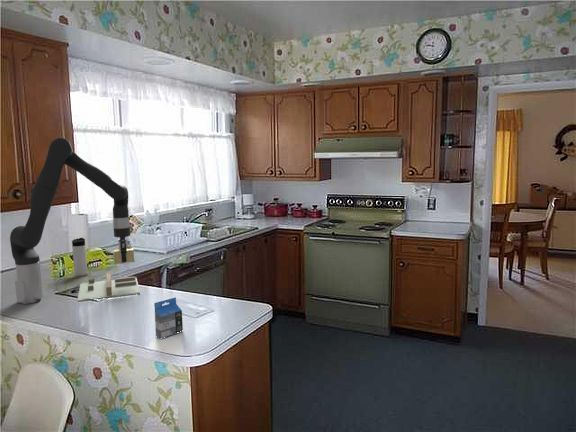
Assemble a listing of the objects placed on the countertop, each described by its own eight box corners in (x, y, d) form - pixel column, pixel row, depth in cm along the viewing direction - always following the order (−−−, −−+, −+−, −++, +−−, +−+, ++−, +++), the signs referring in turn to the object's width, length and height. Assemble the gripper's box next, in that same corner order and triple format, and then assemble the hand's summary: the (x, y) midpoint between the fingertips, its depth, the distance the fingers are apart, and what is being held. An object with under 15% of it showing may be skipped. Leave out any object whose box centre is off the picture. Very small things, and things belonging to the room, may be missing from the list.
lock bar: (114, 263, 212) (113, 251, 211) (114, 262, 215) (113, 250, 214) (134, 261, 215) (133, 249, 214) (133, 260, 218) (133, 248, 217)
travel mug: (90, 274, 236) (87, 237, 233) (83, 277, 229) (80, 240, 226) (79, 274, 237) (76, 237, 234) (72, 277, 230) (69, 240, 227)
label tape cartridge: (161, 339, 153) (159, 305, 151) (155, 336, 155) (153, 303, 154) (183, 332, 159) (181, 299, 157) (177, 329, 162) (175, 297, 160)
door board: (140, 294, 202) (139, 283, 201) (77, 302, 192) (76, 291, 191) (136, 279, 226) (135, 269, 225) (80, 285, 216) (79, 275, 215)
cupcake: (117, 258, 271) (116, 242, 269) (134, 257, 274) (133, 241, 272) (116, 262, 262) (115, 245, 260) (133, 260, 265) (132, 244, 263)
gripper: (130, 228, 207) (133, 263, 210) (129, 223, 220) (131, 257, 223) (113, 229, 204) (116, 265, 207) (113, 224, 217) (115, 258, 220)
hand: (124, 261), depth 215 cm, fingers closed on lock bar, 3 cm apart
